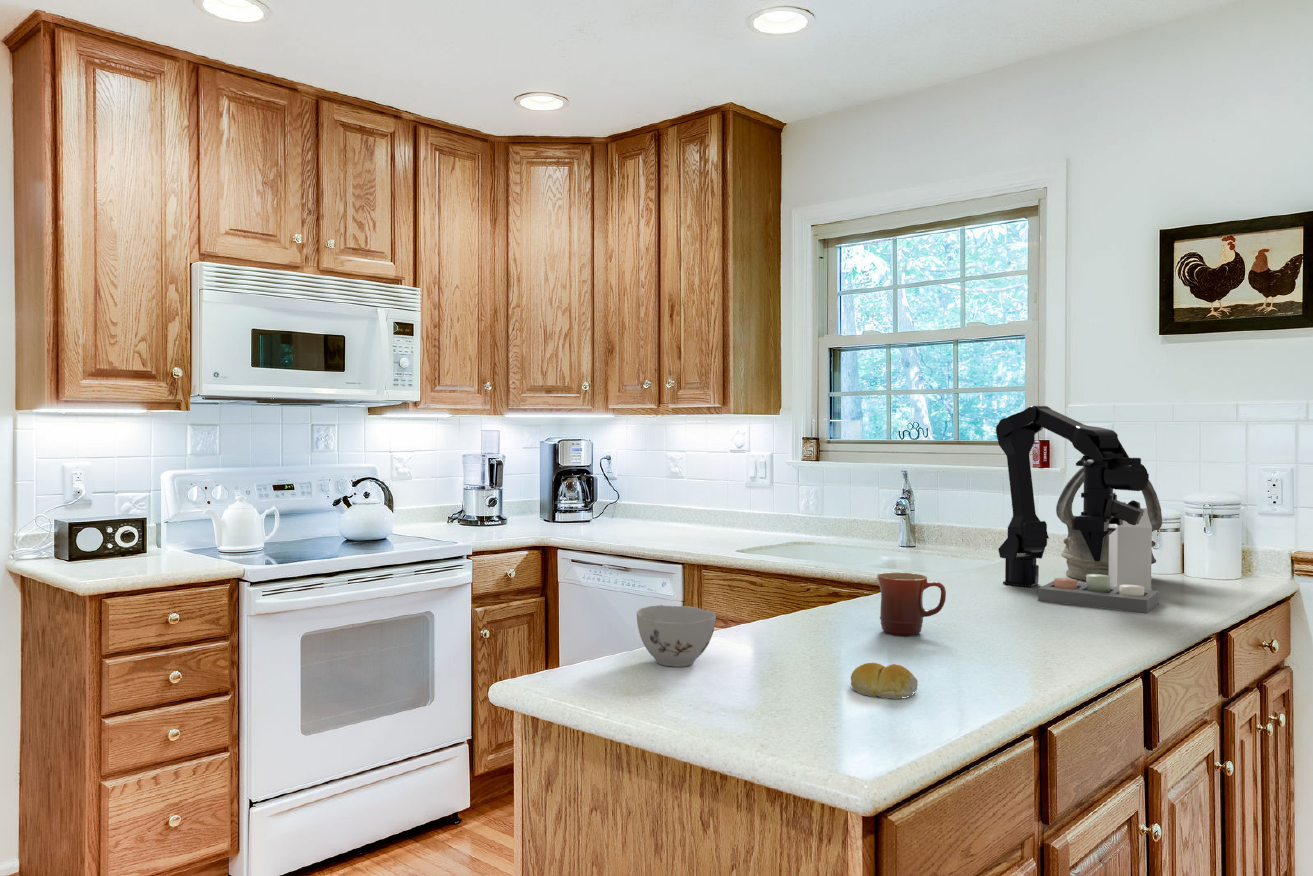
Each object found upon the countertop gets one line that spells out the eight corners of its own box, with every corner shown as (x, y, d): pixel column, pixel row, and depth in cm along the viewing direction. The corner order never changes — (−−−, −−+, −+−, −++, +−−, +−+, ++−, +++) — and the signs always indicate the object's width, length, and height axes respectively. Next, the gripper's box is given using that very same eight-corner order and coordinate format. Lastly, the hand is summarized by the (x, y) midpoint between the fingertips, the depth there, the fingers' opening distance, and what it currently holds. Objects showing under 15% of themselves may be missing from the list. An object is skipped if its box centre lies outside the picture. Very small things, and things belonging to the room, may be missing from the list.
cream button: (1117, 601, 193) (1117, 586, 193) (1121, 597, 196) (1122, 583, 196) (1141, 603, 190) (1141, 589, 190) (1145, 600, 193) (1146, 586, 193)
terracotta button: (1051, 593, 201) (1051, 580, 200) (1057, 590, 204) (1057, 577, 204) (1074, 596, 198) (1074, 582, 198) (1079, 593, 201) (1079, 579, 201)
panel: (1037, 600, 198) (1038, 588, 198) (1054, 592, 209) (1054, 580, 209) (1146, 613, 185) (1147, 600, 185) (1158, 603, 196) (1158, 591, 196)
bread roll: (861, 680, 136) (861, 653, 136) (922, 690, 131) (922, 662, 131) (840, 694, 129) (841, 665, 129) (903, 705, 124) (904, 675, 124)
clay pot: (1158, 589, 213) (1160, 459, 213) (1050, 579, 226) (1051, 457, 225) (1163, 576, 232) (1165, 457, 232) (1063, 568, 244) (1065, 454, 244)
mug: (874, 635, 164) (874, 578, 164) (878, 625, 172) (879, 571, 172) (944, 641, 160) (945, 582, 160) (946, 630, 168) (946, 574, 168)
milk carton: (1151, 594, 206) (1152, 509, 206) (1116, 593, 208) (1118, 508, 207) (1141, 589, 213) (1142, 506, 213) (1108, 587, 215) (1109, 506, 214)
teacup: (698, 677, 137) (698, 623, 136) (622, 667, 142) (622, 615, 141) (731, 654, 150) (732, 605, 150) (661, 646, 155) (661, 599, 155)
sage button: (1083, 590, 197) (1083, 576, 196) (1089, 587, 200) (1089, 573, 200) (1107, 592, 194) (1107, 578, 194) (1112, 589, 197) (1112, 575, 197)
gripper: (1130, 492, 184) (1130, 570, 185) (1149, 487, 199) (1148, 560, 199) (1071, 489, 191) (1070, 564, 191) (1093, 485, 206) (1092, 555, 206)
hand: (1097, 561), depth 197 cm, fingers closed
